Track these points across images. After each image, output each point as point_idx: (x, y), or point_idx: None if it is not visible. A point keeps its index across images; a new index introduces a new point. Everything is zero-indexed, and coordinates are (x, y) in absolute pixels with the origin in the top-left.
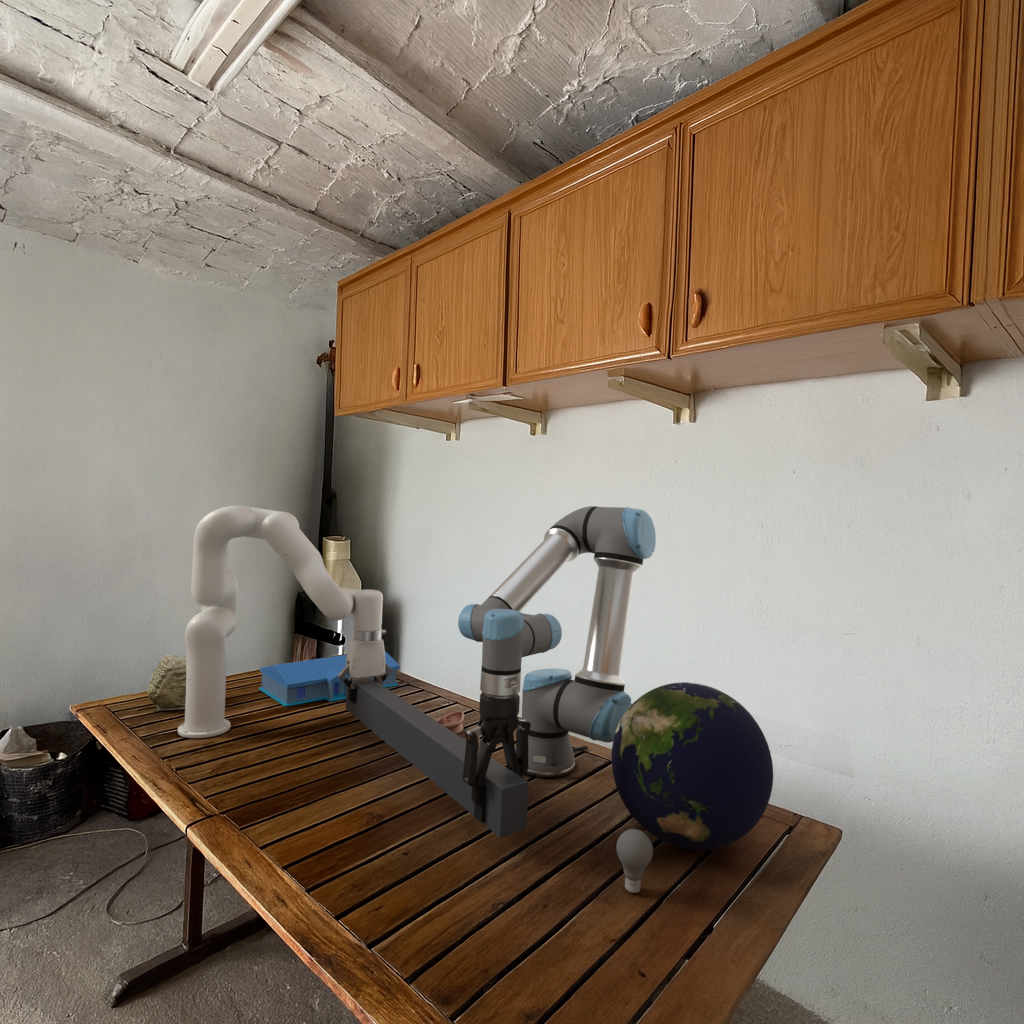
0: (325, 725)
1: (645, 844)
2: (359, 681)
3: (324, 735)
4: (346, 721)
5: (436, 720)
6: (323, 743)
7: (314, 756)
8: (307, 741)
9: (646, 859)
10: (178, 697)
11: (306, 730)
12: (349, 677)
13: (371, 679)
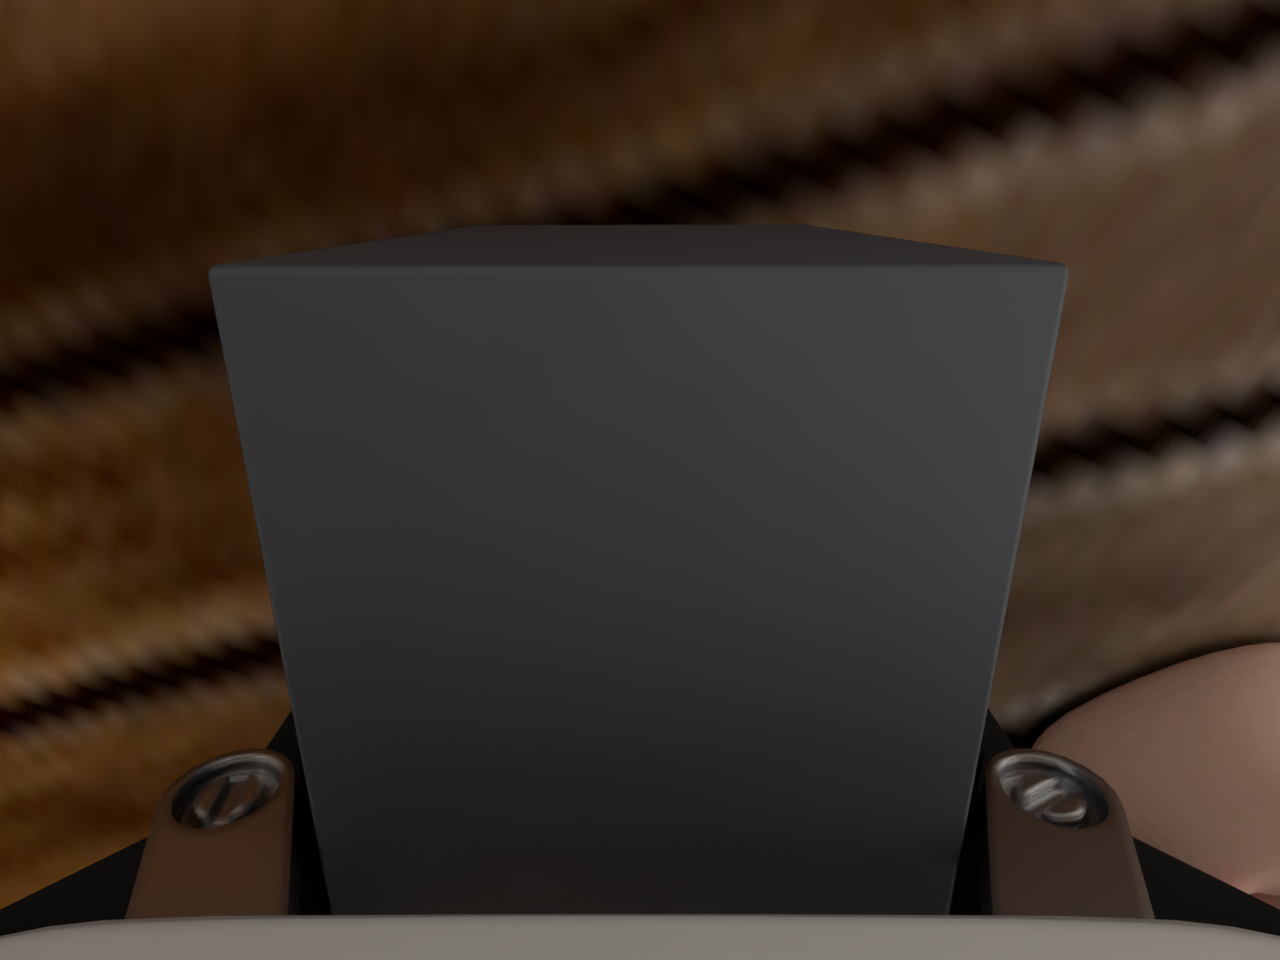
0: (273, 189)
1: None
2: (501, 874)
3: (221, 482)
4: (545, 170)
5: (1271, 887)
6: (188, 655)
7: (93, 844)
8: (45, 553)
9: None
10: None
11: (40, 251)
12: (301, 341)
13: (906, 839)
